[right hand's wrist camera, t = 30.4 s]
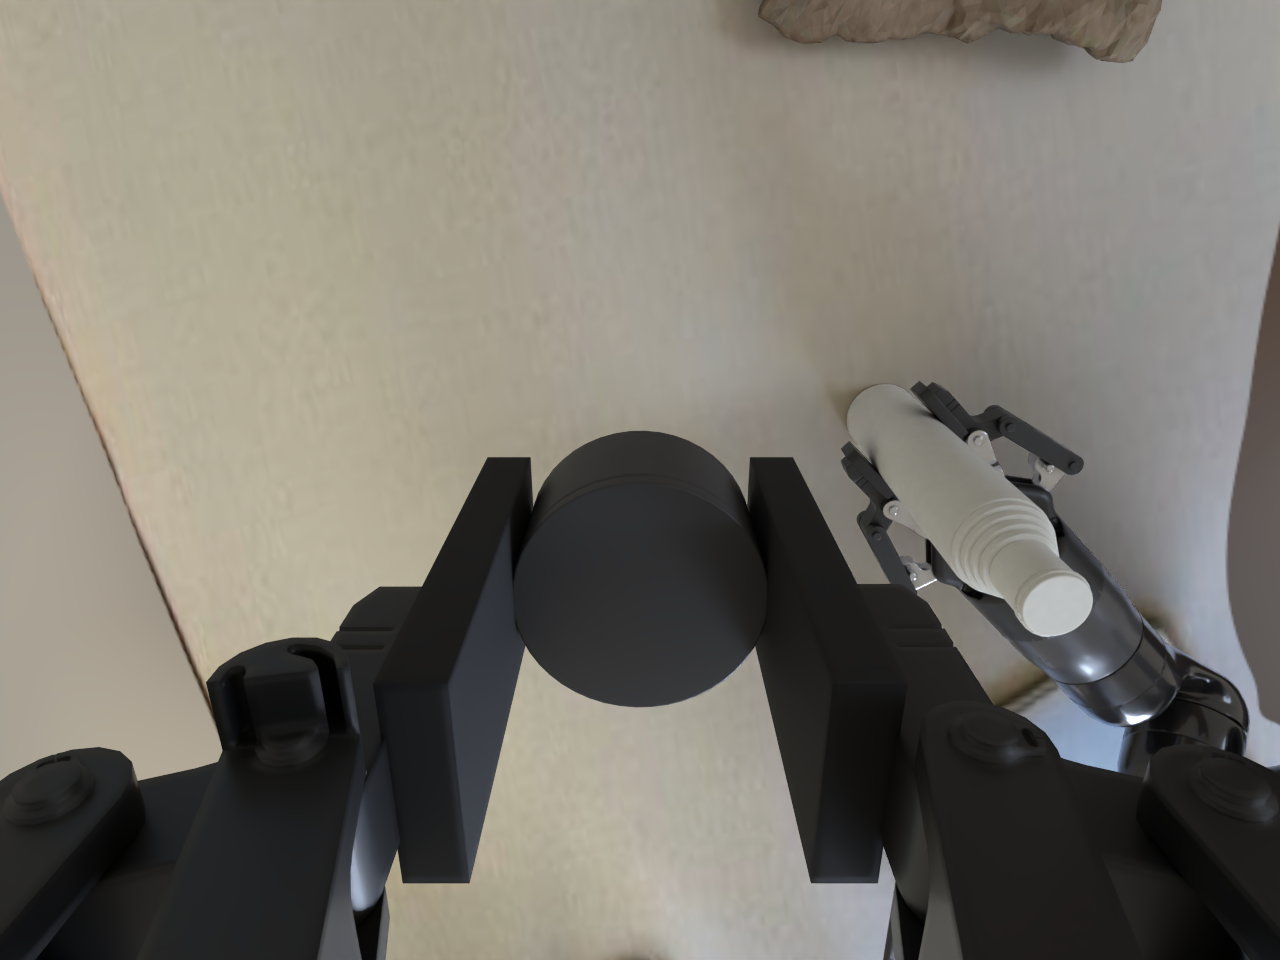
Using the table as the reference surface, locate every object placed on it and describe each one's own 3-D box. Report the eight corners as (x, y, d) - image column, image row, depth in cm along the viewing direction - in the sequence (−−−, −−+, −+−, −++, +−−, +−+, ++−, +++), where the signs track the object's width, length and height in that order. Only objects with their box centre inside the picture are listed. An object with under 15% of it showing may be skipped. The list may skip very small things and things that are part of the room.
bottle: (854, 380, 53) (1016, 547, 30) (923, 387, 53) (1136, 559, 30) (840, 445, 55) (982, 651, 32) (906, 453, 55) (1096, 662, 32)
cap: (672, 659, 15) (678, 745, 13) (492, 563, 15) (465, 637, 12) (793, 501, 14) (822, 566, 12) (602, 387, 13) (595, 433, 11)
